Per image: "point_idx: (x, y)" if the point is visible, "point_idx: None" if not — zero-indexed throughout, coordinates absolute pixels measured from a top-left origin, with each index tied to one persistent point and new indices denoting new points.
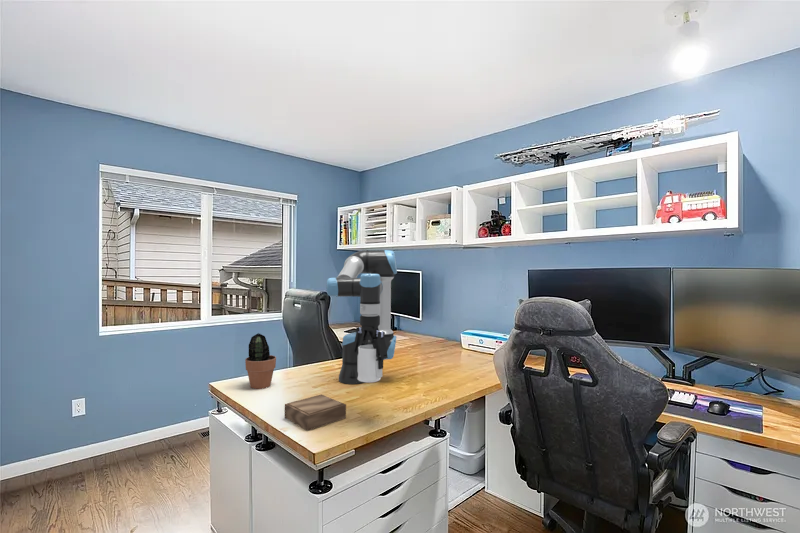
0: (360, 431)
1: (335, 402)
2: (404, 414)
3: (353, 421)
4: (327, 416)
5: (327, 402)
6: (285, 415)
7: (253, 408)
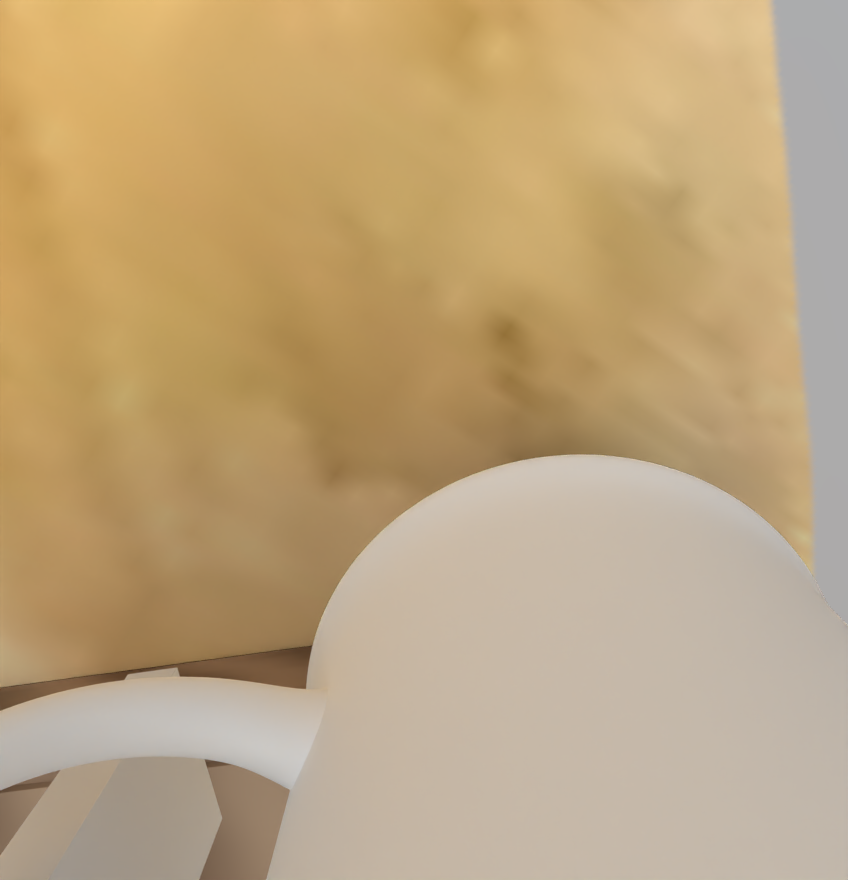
0: None
1: (268, 794)
2: (684, 38)
3: None
4: None
5: (223, 857)
6: None
7: None
